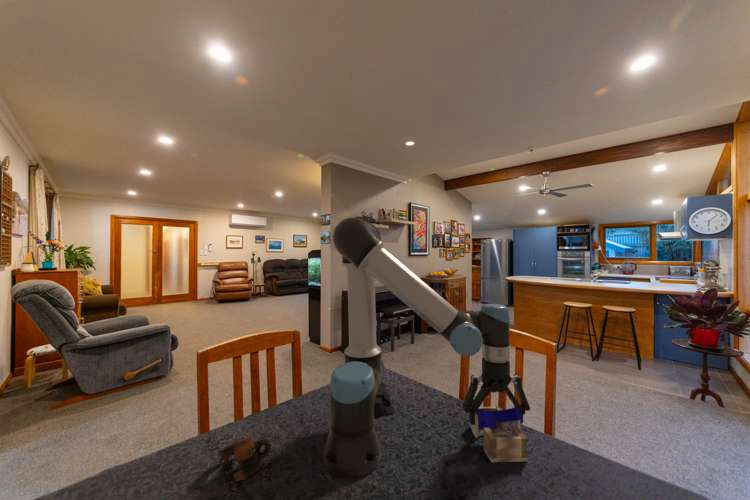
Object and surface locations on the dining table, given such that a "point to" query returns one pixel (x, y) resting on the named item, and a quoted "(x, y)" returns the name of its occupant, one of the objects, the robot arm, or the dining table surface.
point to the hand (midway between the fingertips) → (496, 434)
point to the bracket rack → (503, 442)
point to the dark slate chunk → (382, 402)
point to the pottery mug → (246, 456)
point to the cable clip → (497, 417)
